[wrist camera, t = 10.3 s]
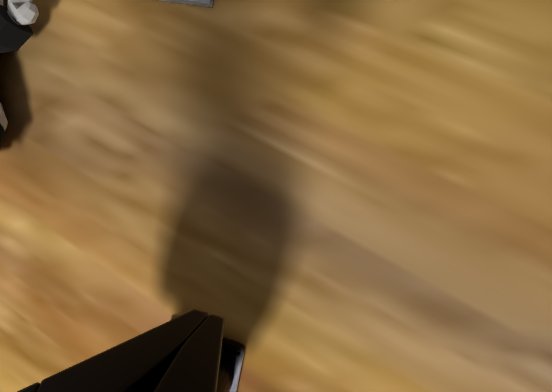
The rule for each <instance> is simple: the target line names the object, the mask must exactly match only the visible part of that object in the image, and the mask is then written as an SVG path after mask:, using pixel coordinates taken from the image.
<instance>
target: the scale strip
mask: <svg viewBox="0 0 552 392" xmlns="http://www.w3.org/2000/svg"><path fill="white" fill-rule="evenodd" d="M160 1H167V2H174V3H182V4H189V5H197V6H204V7H212V8H213V2H214V0H160Z"/></svg>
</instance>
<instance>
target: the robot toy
mask: <svg viewBox="0 0 552 392" xmlns="http://www.w3.org/2000/svg"><path fill="white" fill-rule="evenodd" d="M38 15H39V12H38V8H37V7H36V5H35V4H33V3H32V0H8V5H7V7H5V6H3V0H0V53H5V52H11V51H17V50H18V49H19V48H20V47H21V46H22V45H23V44H24V43H25V42H26V41H27V40H28V39H29V38H30V37H31V36H32V34H33V32H32V29H31V28H30V26H29V25H28V24H32V23H35V21H36V19H37V17H38ZM7 124H8V122H7V119H6V116H5V113H4V110H3V107H2V105H1V102H0V148H1V145H2V142H3V139H4V136H5V133H6V132H5V130H6V127H7Z"/></svg>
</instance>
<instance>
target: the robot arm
mask: <svg viewBox="0 0 552 392" xmlns="http://www.w3.org/2000/svg"><path fill="white" fill-rule="evenodd" d="M224 322H225V320H224V318H222V317H219V316H216V315H209V314H208V313H206V312H203V311H199V310H192V311H190V312H188V313H186V314H184V315H181V316H179V317H177V318H175V319H173V320H171V321H169V322H166V323H164V324H162V325H160V326H158V327H156V328H153V329H151V330H149V331H147V332H145V333H143V334H141V335H138V336H136V337H134V338H132V339H130V340H128V341H125V342H123V343H121V344H119V345H117V346H115V347H113V348H110V349H108V350H106V351H104V352H102V353H100V354H97V355H95V356H93V357H91V358H89V359H87V360H85V361H82V362H80V363H78V364H76V365H74V366H72V367H69V368H67V369H65V370H63V371H61V372H59V373H57V374H54V375H52V376H50V377H48V378H46V379H44V380H42V382H41V383H38V382H37V383H35V384H33V385H30V386H28V387H26V388H24V389H22V390H20V391H17V392H237V388H238V383H239V378H240V373H241V368H242V363H243V358H244V353H245V348H244V346H243V345H242V344H240V343H237V342H234V341H231V340H228V339H225V338H223V330H224ZM237 350H239V351H240V352H238V351H237Z"/></svg>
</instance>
